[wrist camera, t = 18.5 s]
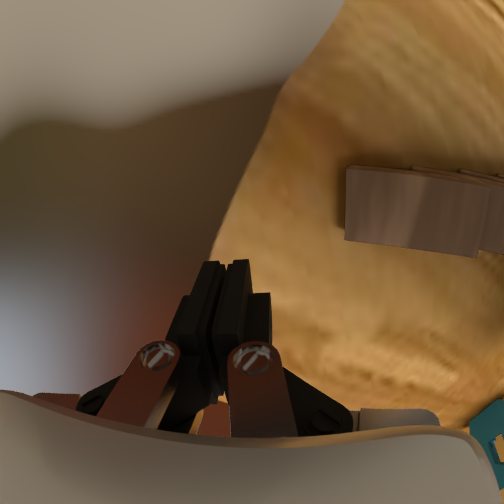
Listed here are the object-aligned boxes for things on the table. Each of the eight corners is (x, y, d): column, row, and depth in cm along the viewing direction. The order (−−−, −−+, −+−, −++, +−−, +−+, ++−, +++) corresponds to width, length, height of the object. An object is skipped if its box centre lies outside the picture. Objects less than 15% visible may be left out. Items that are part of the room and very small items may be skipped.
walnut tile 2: (411, 165, 18) (524, 188, 13) (406, 228, 20) (511, 248, 15) (412, 169, 17) (531, 194, 12) (405, 236, 19) (517, 257, 14)
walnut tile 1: (349, 164, 18) (482, 181, 14) (347, 231, 20) (471, 247, 16) (346, 168, 17) (489, 187, 13) (344, 240, 19) (476, 257, 15)
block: (504, 392, 33) (535, 465, 15) (509, 394, 34) (538, 463, 16) (461, 427, 38) (483, 499, 20) (469, 428, 39) (490, 495, 21)
